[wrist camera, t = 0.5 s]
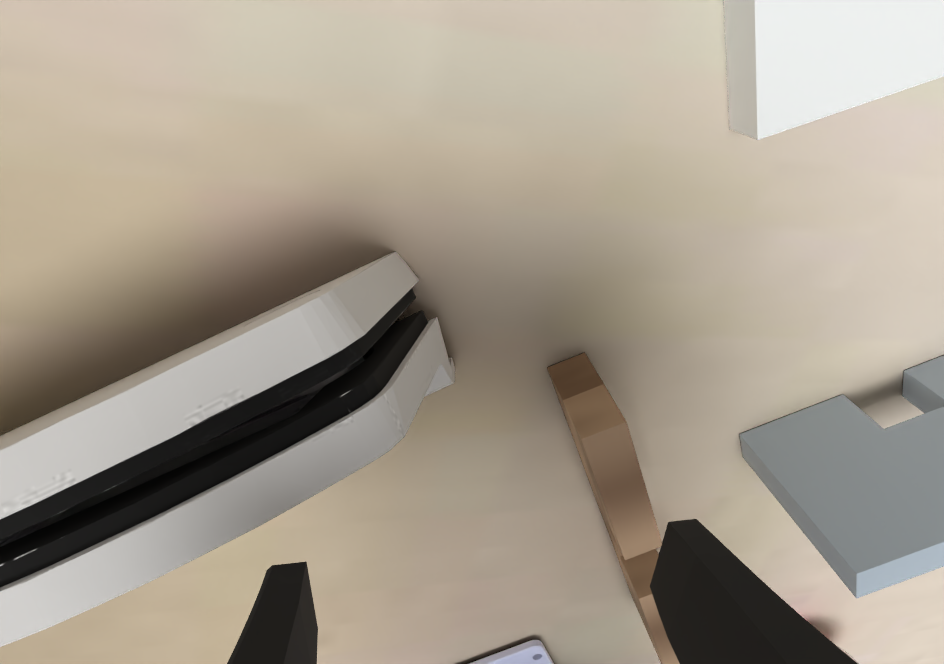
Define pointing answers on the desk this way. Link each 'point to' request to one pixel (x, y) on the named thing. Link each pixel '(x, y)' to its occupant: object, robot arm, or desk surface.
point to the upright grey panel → (862, 482)
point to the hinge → (209, 443)
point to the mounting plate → (824, 57)
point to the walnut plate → (614, 484)
